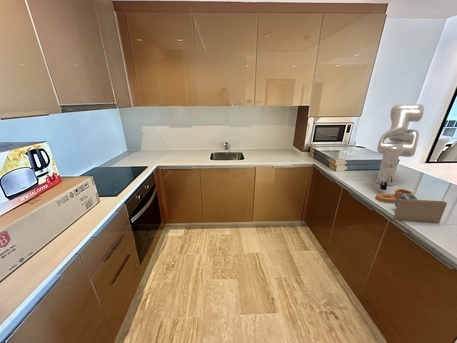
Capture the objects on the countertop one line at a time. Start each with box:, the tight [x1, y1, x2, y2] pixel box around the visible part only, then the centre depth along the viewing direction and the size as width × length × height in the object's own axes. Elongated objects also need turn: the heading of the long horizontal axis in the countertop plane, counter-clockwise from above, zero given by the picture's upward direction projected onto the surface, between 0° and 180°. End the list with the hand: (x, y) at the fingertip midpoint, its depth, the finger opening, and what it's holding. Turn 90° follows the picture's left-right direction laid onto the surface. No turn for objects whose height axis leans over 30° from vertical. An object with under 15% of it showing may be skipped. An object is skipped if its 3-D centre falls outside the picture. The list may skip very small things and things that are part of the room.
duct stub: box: [392, 194, 448, 224], centre depth 106 cm, size 12×20×12 cm, turn 78°
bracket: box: [375, 188, 414, 204], centre depth 123 cm, size 18×8×7 cm, turn 75°
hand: (382, 189), depth 134 cm, fingers closed
